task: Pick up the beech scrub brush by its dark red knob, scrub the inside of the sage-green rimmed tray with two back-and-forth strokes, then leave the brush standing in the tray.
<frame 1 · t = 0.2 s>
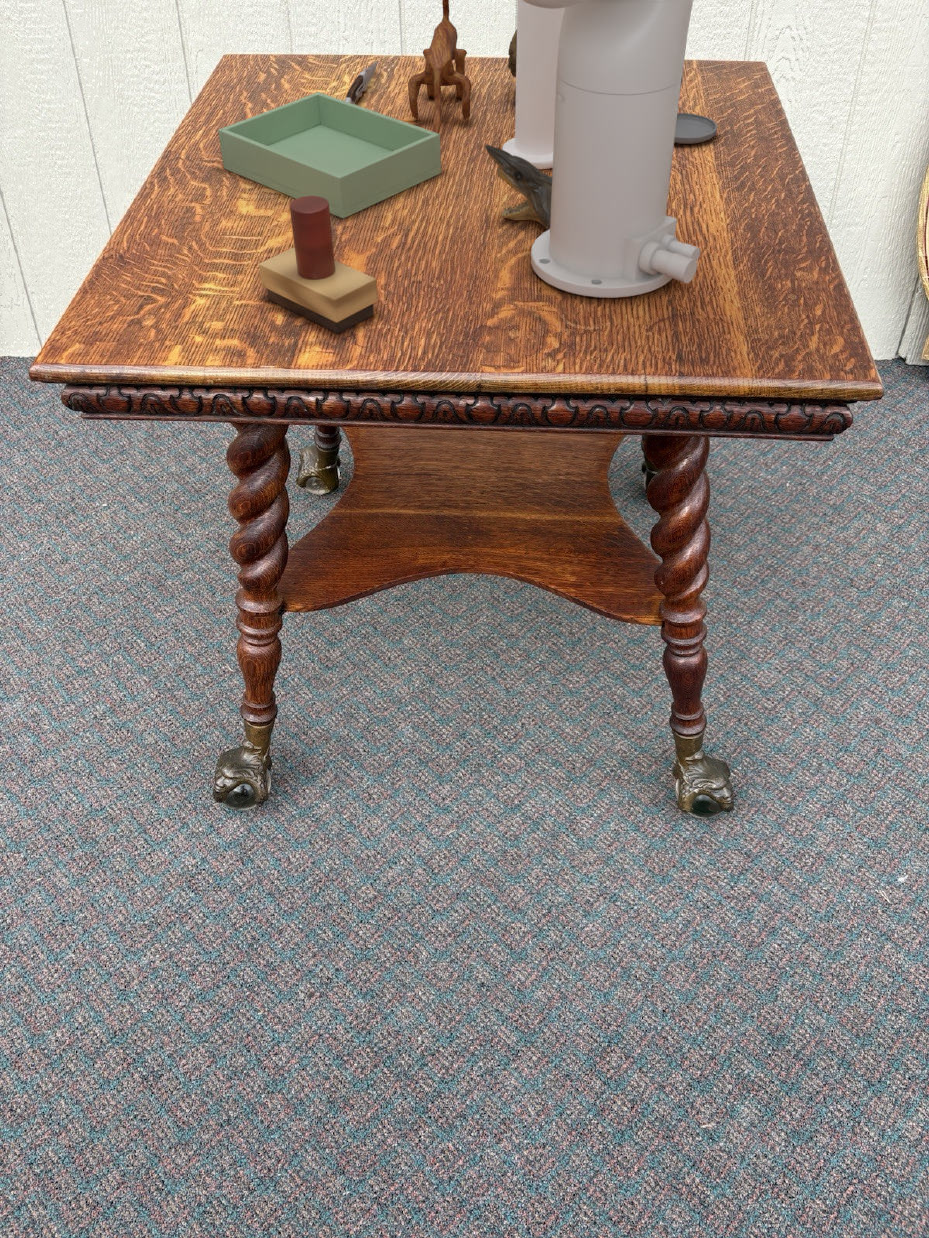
shark head: (528, 223, 104), on the table
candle: (537, 157, 114), on the table
wooden animal figurine: (441, 120, 122), on the table
brush: (320, 307, 93), on the table
dark grey round piece: (674, 133, 118), on the table
tray: (331, 171, 112), on the table
pocket knife: (363, 94, 128), on the table
fossil: (557, 106, 124), on the table
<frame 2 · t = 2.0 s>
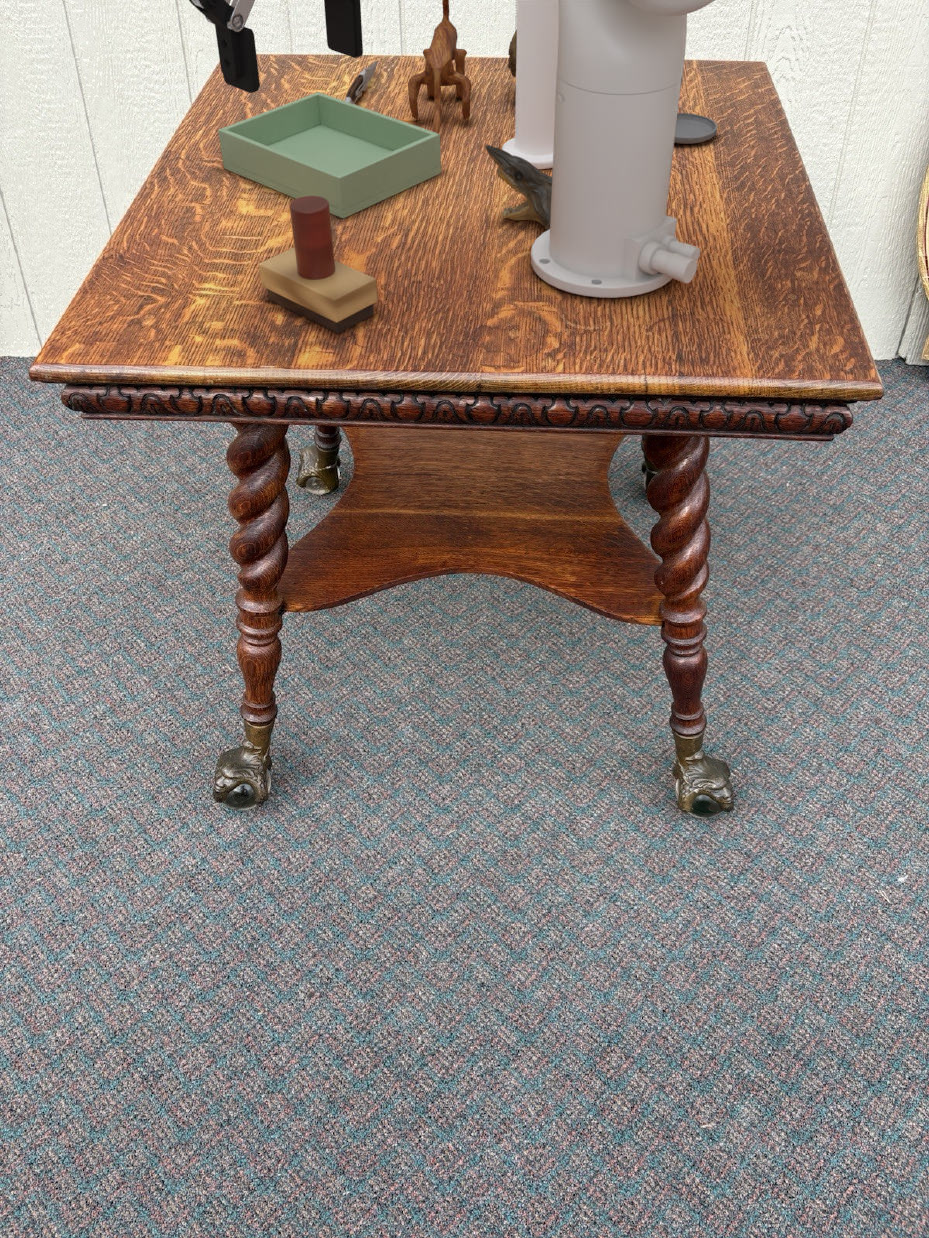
hand: (295, 69, 81), 18 cm above the table, tool pointing down, fingers open, 9 cm apart
nothing on the table moved.
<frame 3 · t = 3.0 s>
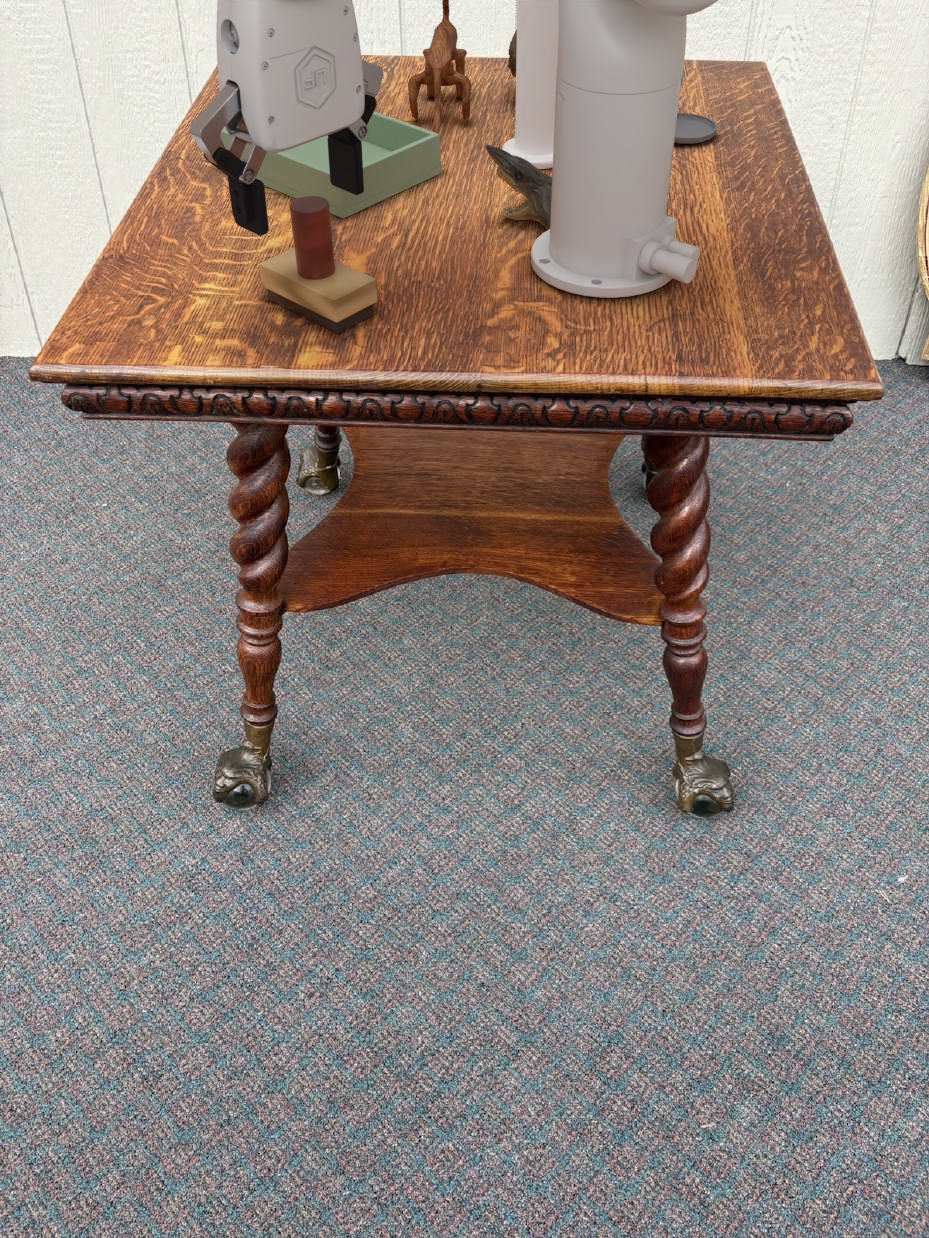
hand: (301, 208, 87), 8 cm above the table, tool pointing down, fingers open, 9 cm apart
nothing on the table moved.
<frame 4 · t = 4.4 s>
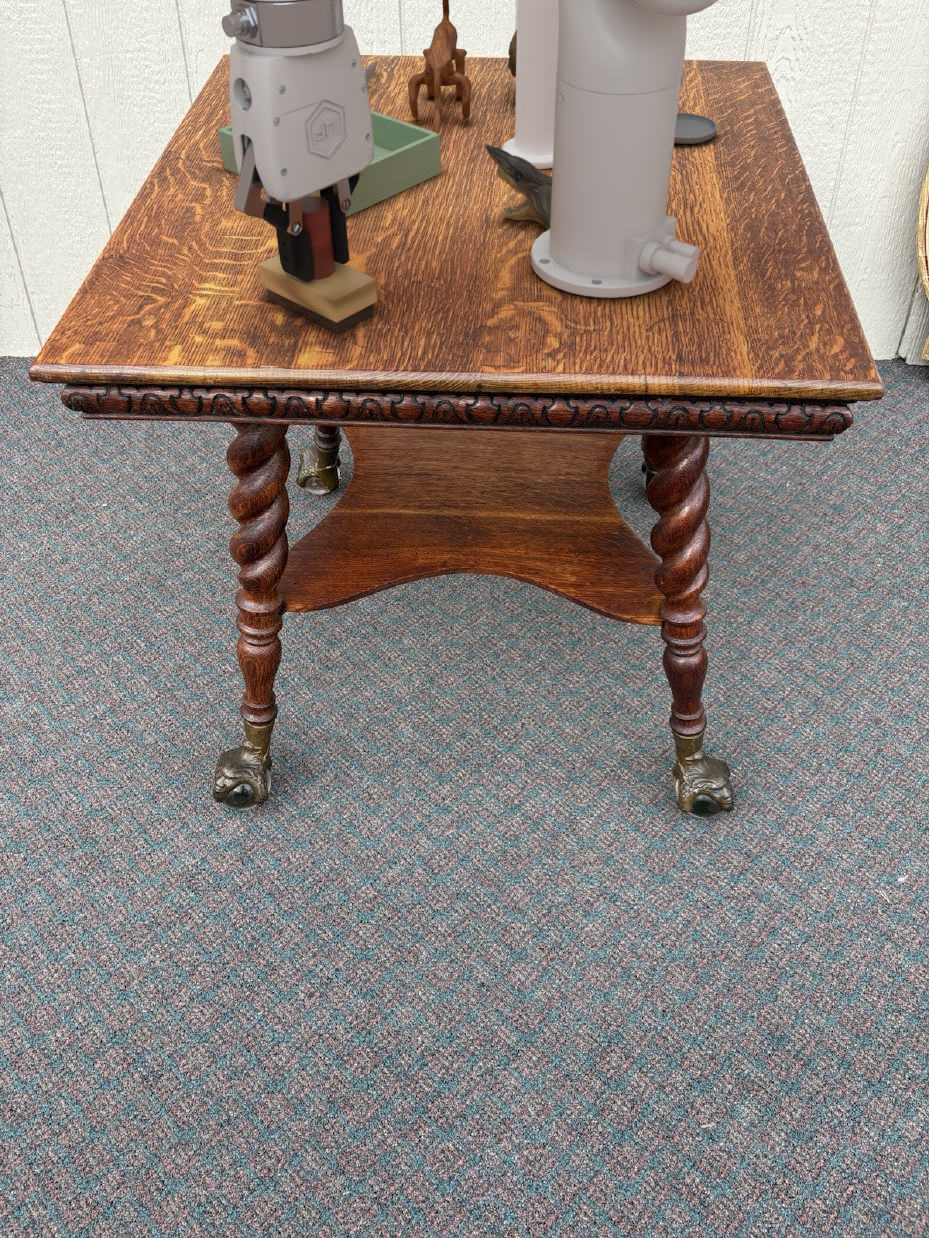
hand: (315, 264, 90), 4 cm above the table, tool pointing down, fingers closed on brush, 3 cm apart
brush: (320, 307, 93), on the table, touching gripper
everything else where it was.
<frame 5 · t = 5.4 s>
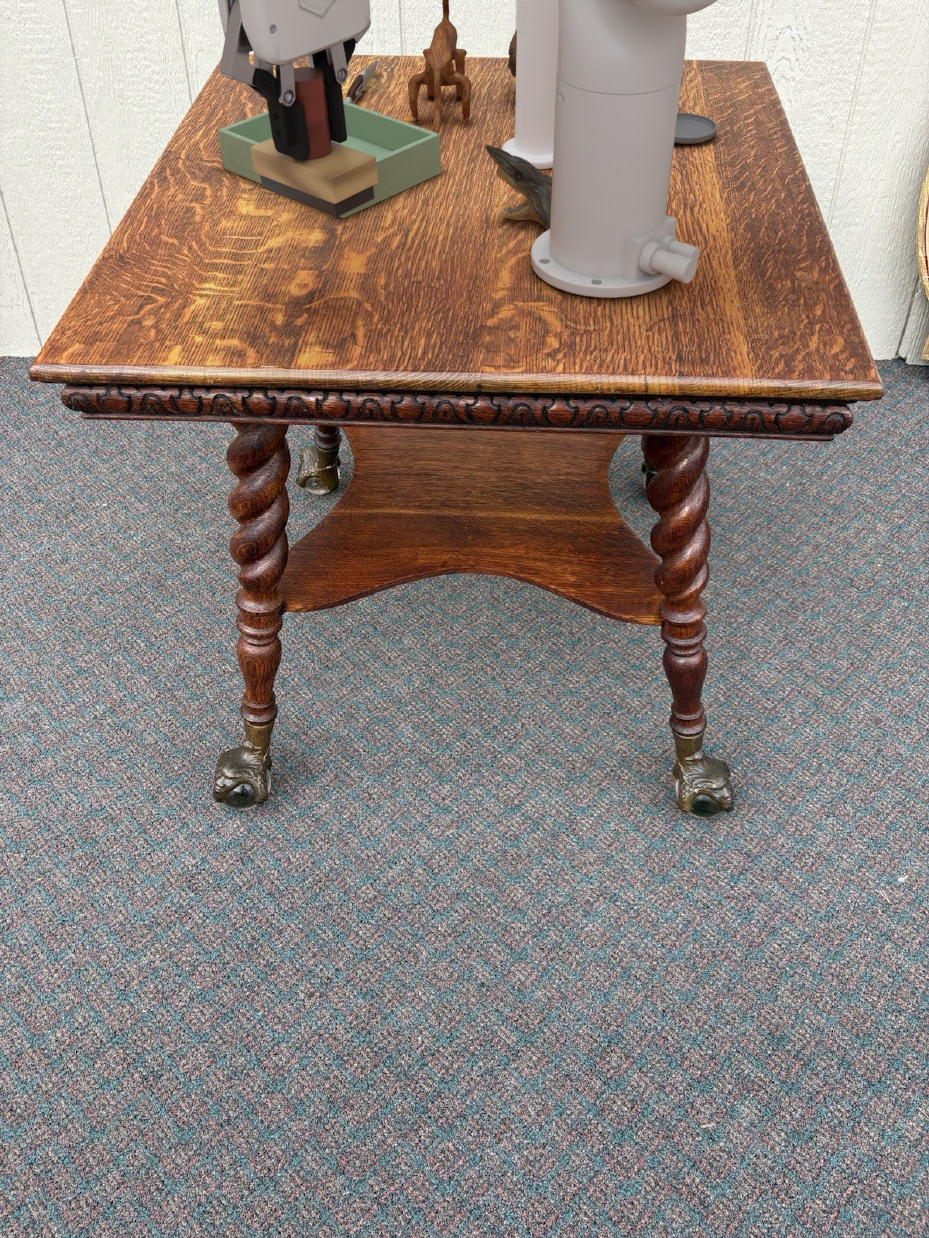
hand: (311, 144, 84), 13 cm above the table, tool pointing down, fingers closed on brush, 3 cm apart
brush: (317, 193, 87), point 9 cm above the table, touching gripper
everything else where it was.
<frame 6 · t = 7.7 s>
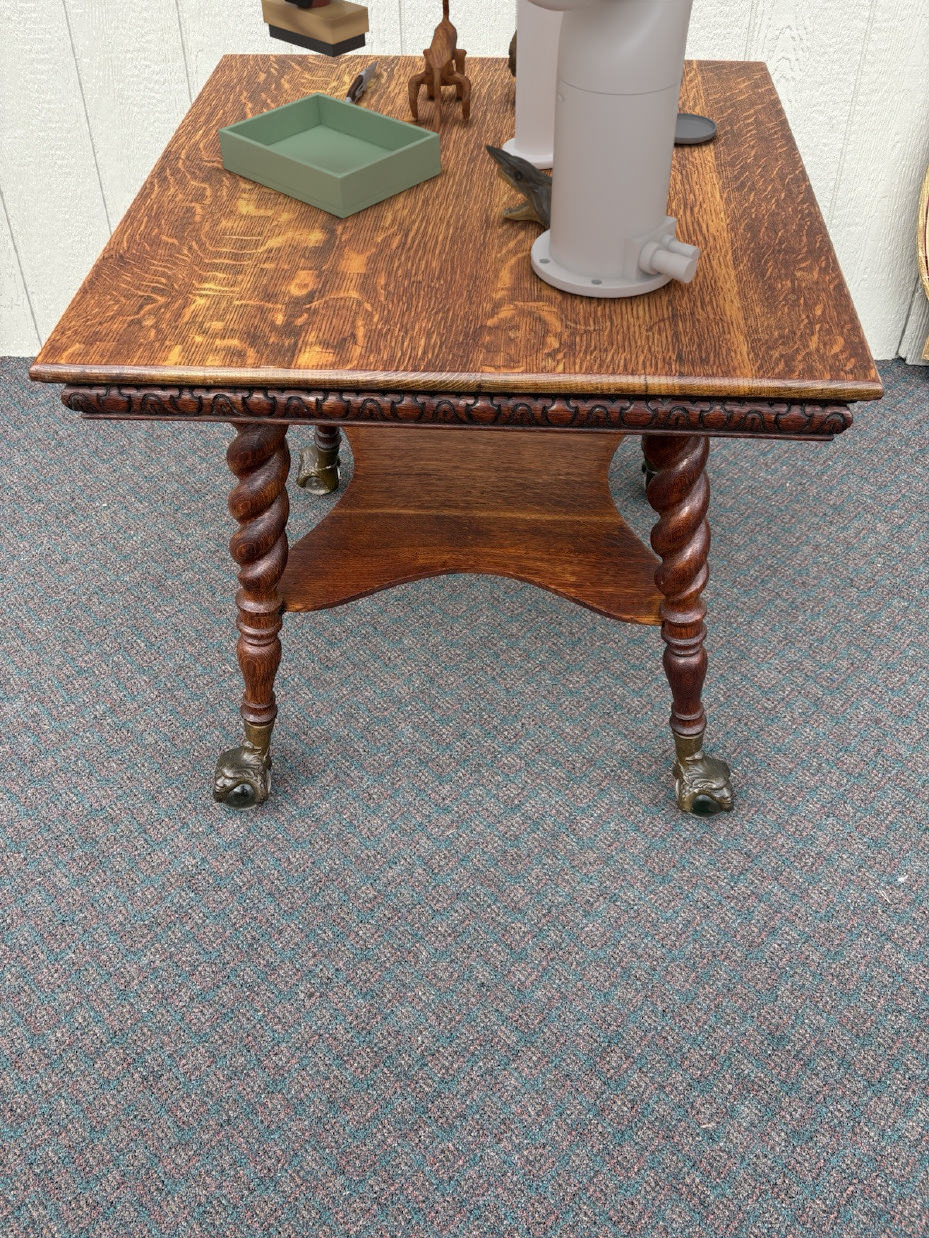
brush: (317, 41, 102), point 13 cm above the table, touching gripper
everything else where it was.
when the fingers open (5 cm above the table, at t = 14.8 s): brush stays where it is, resting on tray.
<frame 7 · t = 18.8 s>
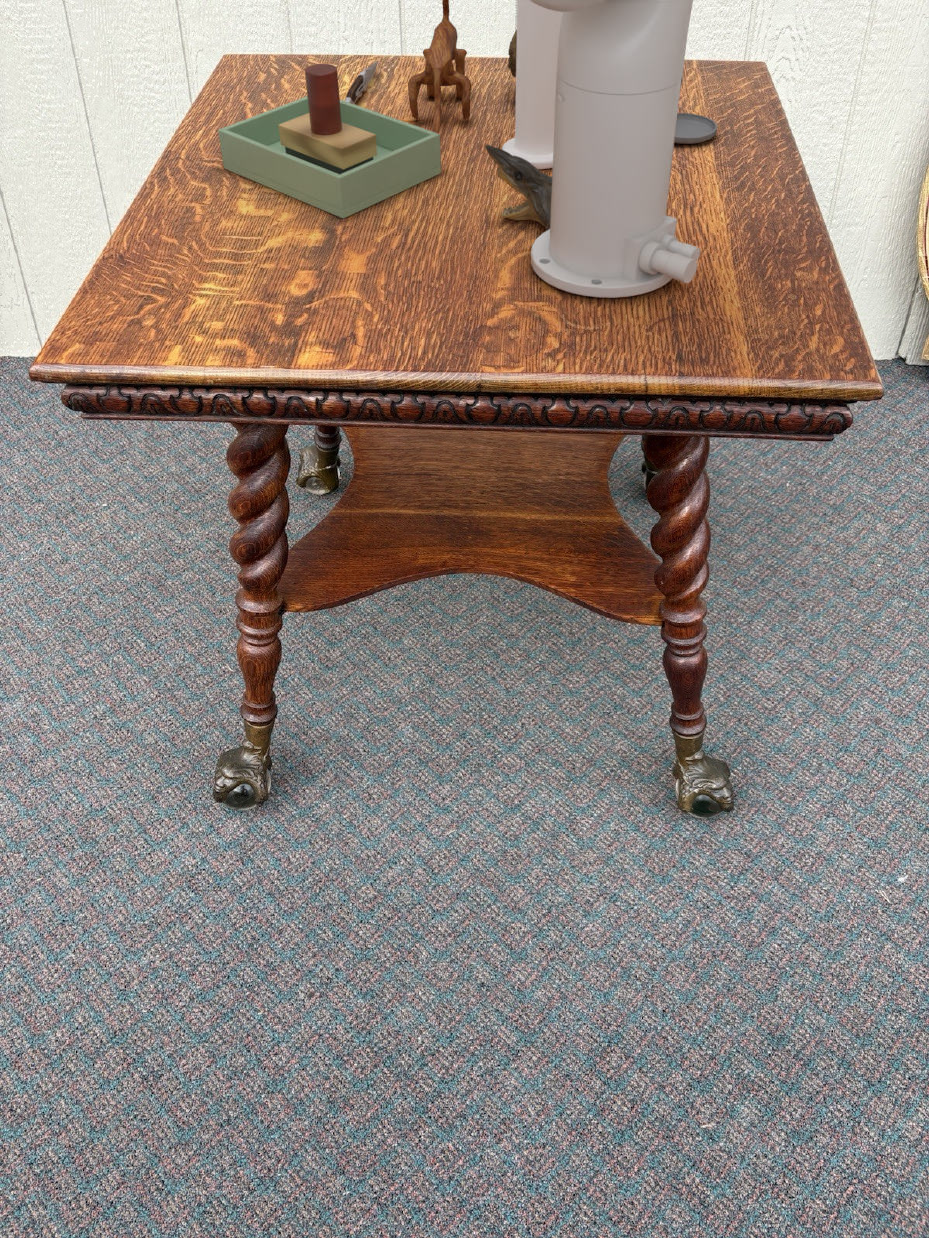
brush: (329, 162, 112), point 1 cm above the table, touching tray
everything else where it was.
at the end: brush inside the target area in the tray (0.2 cm from its centre), point 0.8 cm above the tray's base; brush tilted 0°; the gripper is holding nothing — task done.
